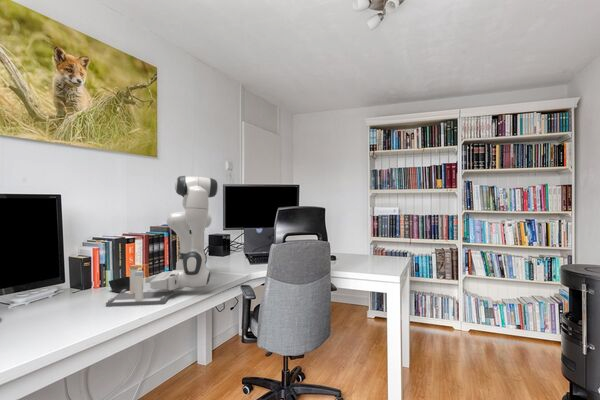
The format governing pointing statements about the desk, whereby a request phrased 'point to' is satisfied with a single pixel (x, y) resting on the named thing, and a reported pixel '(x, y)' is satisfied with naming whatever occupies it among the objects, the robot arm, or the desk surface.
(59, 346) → the desk surface
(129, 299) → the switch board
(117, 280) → the handheld gaming console
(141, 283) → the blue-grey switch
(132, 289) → the grey upright post
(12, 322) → the desk surface
